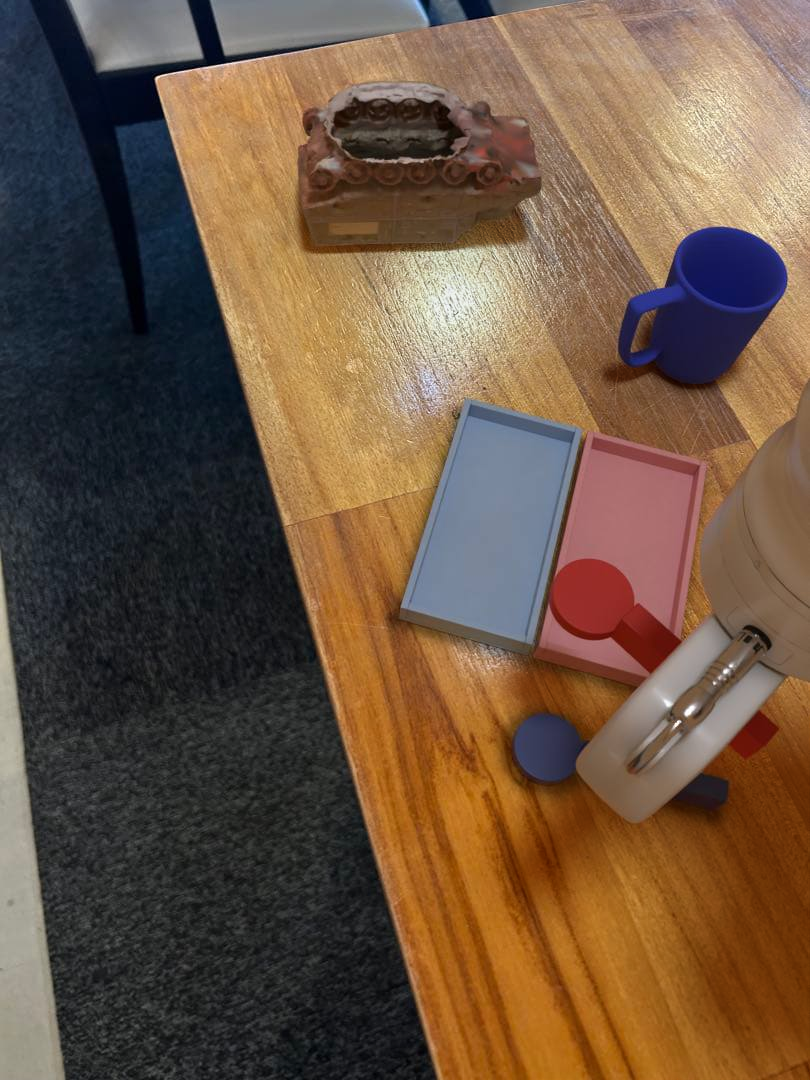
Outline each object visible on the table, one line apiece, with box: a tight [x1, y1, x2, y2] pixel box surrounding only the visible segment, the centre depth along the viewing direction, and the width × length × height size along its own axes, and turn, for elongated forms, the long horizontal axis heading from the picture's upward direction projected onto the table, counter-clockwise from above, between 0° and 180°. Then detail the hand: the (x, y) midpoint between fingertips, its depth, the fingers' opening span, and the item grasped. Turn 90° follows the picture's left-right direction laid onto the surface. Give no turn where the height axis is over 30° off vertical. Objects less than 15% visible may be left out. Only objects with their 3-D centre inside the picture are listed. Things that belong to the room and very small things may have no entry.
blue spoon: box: [510, 712, 730, 812], centre depth 60 cm, size 13×4×2 cm, turn 74°
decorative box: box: [296, 79, 543, 248], centre depth 79 cm, size 13×20×10 cm, turn 89°
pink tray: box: [533, 430, 708, 688], centre depth 67 cm, size 9×18×2 cm, turn 164°
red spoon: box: [549, 558, 780, 761], centre depth 49 cm, size 13×4×2 cm, turn 44°
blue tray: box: [398, 397, 583, 656], centre depth 68 cm, size 9×18×2 cm, turn 164°
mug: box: [617, 226, 789, 385], centre depth 72 cm, size 8×12×10 cm
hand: (703, 684), depth 47 cm, fingers closed on red spoon, 1 cm apart
